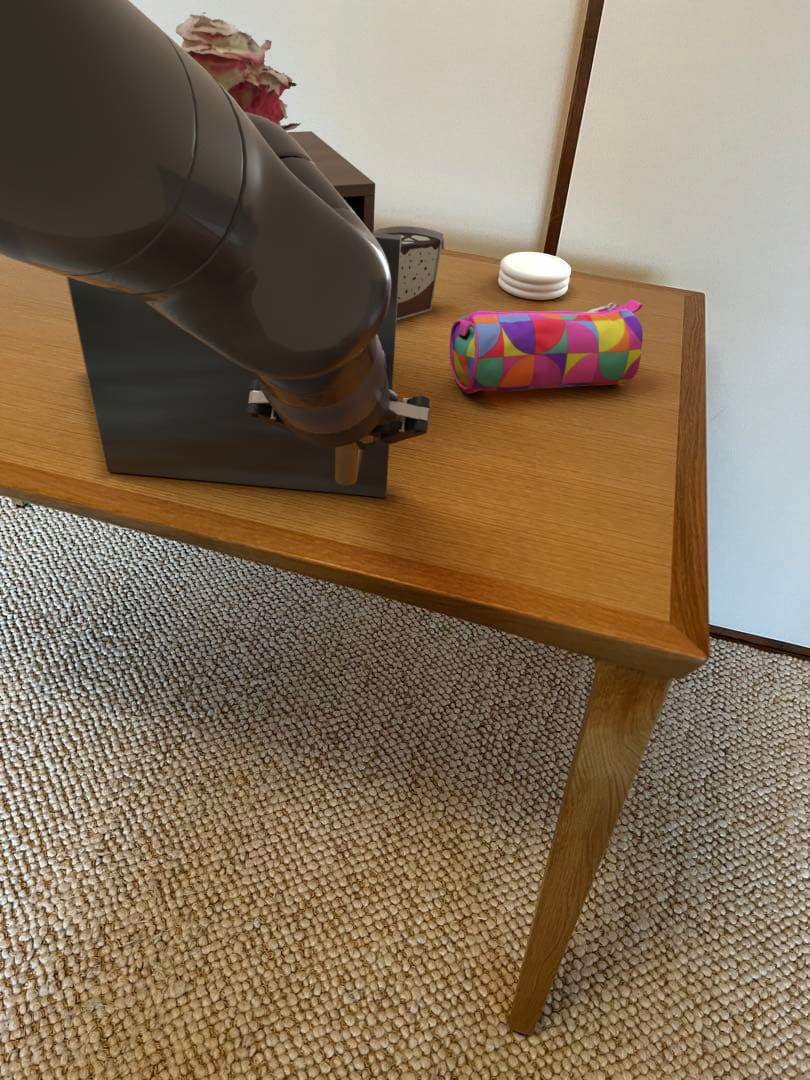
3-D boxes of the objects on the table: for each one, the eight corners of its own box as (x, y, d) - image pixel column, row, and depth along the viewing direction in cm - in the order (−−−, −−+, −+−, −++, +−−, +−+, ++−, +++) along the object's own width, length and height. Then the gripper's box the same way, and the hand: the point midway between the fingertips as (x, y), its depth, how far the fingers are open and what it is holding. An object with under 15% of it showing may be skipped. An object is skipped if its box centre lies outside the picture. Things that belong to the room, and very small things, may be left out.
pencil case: (603, 356, 101) (619, 285, 95) (642, 392, 94) (662, 319, 88) (439, 372, 95) (446, 298, 89) (468, 412, 88) (477, 335, 82)
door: (378, 544, 70) (392, 274, 55) (79, 516, 70) (11, 241, 55) (386, 491, 76) (401, 234, 61) (111, 465, 76) (58, 205, 61)
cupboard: (366, 423, 85) (375, 183, 70) (108, 465, 76) (54, 202, 61) (314, 348, 98) (311, 131, 83) (87, 377, 89) (37, 140, 74)
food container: (410, 292, 113) (415, 218, 106) (439, 308, 109) (446, 232, 103) (338, 311, 106) (338, 234, 100) (366, 329, 103) (369, 250, 96)
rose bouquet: (96, 238, 121) (53, -2, 102) (283, 221, 132) (276, 1, 113) (128, 306, 104) (83, 32, 85) (341, 281, 114) (344, 32, 95)
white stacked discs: (533, 307, 111) (537, 282, 109) (483, 282, 117) (486, 258, 115) (581, 292, 117) (586, 268, 114) (531, 269, 122) (535, 246, 120)
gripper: (203, 421, 49) (262, 472, 66) (430, 443, 49) (429, 489, 66) (219, 302, 50) (273, 383, 67) (442, 323, 49) (439, 399, 67)
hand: (350, 435), depth 66 cm, fingers closed on door, 2 cm apart
